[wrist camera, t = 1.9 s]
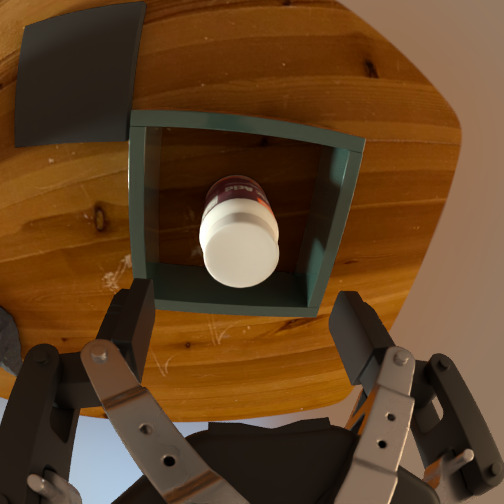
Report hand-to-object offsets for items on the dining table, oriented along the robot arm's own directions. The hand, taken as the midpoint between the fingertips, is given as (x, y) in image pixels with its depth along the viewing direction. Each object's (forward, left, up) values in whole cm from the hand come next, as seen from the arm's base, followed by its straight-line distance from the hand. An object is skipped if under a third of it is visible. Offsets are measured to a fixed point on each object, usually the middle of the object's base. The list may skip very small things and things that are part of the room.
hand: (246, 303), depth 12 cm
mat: (-10, -14, -12) cm, 21 cm away
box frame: (0, 0, -12) cm, 12 cm away
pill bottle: (0, 0, -12) cm, 12 cm away
